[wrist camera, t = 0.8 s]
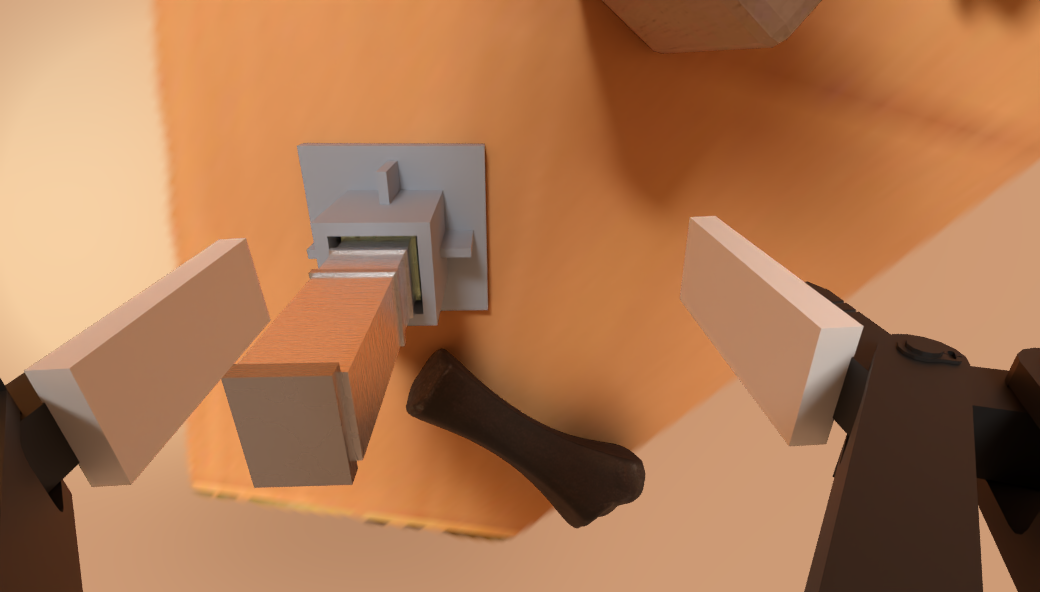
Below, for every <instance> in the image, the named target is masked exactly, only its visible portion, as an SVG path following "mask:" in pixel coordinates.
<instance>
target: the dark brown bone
mask: <svg viewBox="0 0 1040 592" xmlns="http://www.w3.org/2000/svg"><path fill="white" fill-rule="evenodd" d="M406 409H407V412H408V413H409V414H410V415H411V416H413V417H416V418H418V419H420V420H422V421H425V422H427V423H430V424H433V425H435V426H438V427H441V428H443V429H446V430H448V431H450V432H453V433H456V434H458V435H460V436H462V437H464V438H467V439H469V440H471V441H473V442H475V443H477V444H479V445H480V446H482V447H484V448H486V449H488V450H489V451H491V452H493V453H494V454H496V455H497V456H499V457H500V458H502V459H503V460H505V461H506V462H508V463H509V464H511V465H512V466H513V467H515V468H516V469H517V470H518V471H519V472H521V473H522V474H523V475H524V476H525V477H526V478H527V479H528V480H529V481H531V482H532V483H533V484H534V485H535V486H536V487H537V488H538V489H539V490H540V491H541V493H542V494H543V495H544V496H545V497H546V498H547V499H548V500H549V501H550V503H551V504H552V505H553V506H554V507H555V509H556V510H557V511H558V512H559V514H560V515H561V516H562V517H563V518H564V519H565V520H566V521H567V523H569V524H570V525H571V526H573V527H574V528H579V527H581V526H586V525H588V524H590V523H591V522H592V521H594V520H595V519H596V518H597V517H601V516H605V515H607V514H609V513H610V512H611V511H613V510H614V509H615V508H616V507H617V506H619V505H622V504H627V503H630V502H633V501H634V500H636V499H637V498H638V497H639V496H640V495H641V493H642V490H643V487H644V481H645V470H644V466H643V463H642V461H641V460H640V459H639V458H638V457H637V456H636V455H635V454H634V453H633V452H631V451H630V450H628V449H626V448H625V447H622V446H619V445H616V444H611V443H605V442H600V441H594V440H589V439H584V438H579V437H575V436H572V435H568V434H566V433H563V432H560V431H557V430H555V429H552V428H550V427H548V426H546V425H544V424H542V423H540V422H538V421H536V420H534V419H532V418H530V417H529V416H527V415H525V414H524V413H522V412H520V411H519V410H518V409H516V408H515V407H513V406H511V405H510V404H508V403H507V402H506V401H504V400H503V399H502V398H500V397H499V396H498V395H497V394H495V393H494V392H493V391H491V390H490V389H489V388H488V387H487V386H485V385H484V384H483V383H482V382H481V381H479V380H478V379H477V378H476V377H475V376H474V375H473V374H472V373H471V372H470V371H468V370H467V369H466V368H465V367H464V366H463V365H462V364H461V363H460V362H459V361H458V360H457V359H456V358H455V357H453V356H452V355H451V354H450V353H449V352H447V351H446V350H444V349H440V350H438V351H436V352H435V353H434V354H433V355H432V356H431V357H430V358H429V360H428V361H427V362H426V364H425V366H424V367H423V368H422V370H421V372H420V373H419V375H418V376H417V377H416V379H415V380H414V382H413V384H412V386H411V389H410V392H409V396H408V401H407V405H406Z"/></svg>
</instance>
